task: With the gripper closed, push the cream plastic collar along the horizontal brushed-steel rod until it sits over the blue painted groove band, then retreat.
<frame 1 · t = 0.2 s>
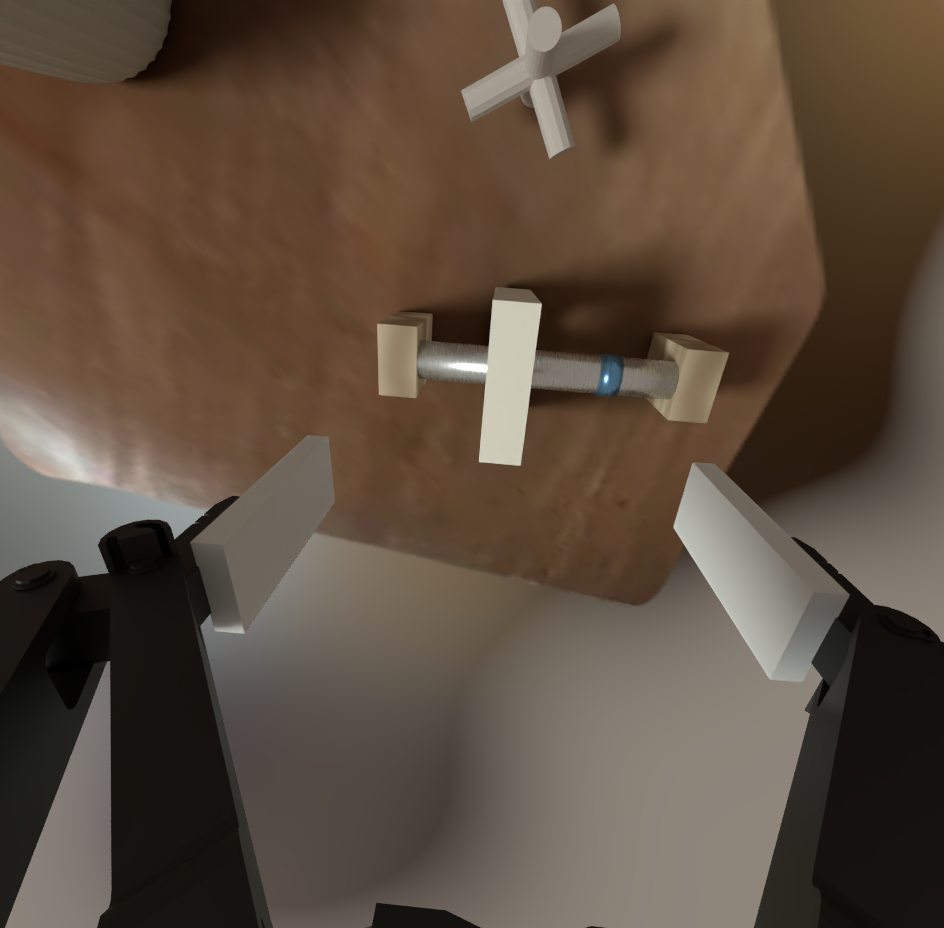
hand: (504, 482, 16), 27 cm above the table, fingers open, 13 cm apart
rod support stand: (538, 353, 40), on the table
pipe connector: (532, 93, 32), on the table
collar: (506, 368, 34), point 7 cm above the table, slide at 0.0 cm
steel rod: (544, 370, 35), point 6 cm above the table
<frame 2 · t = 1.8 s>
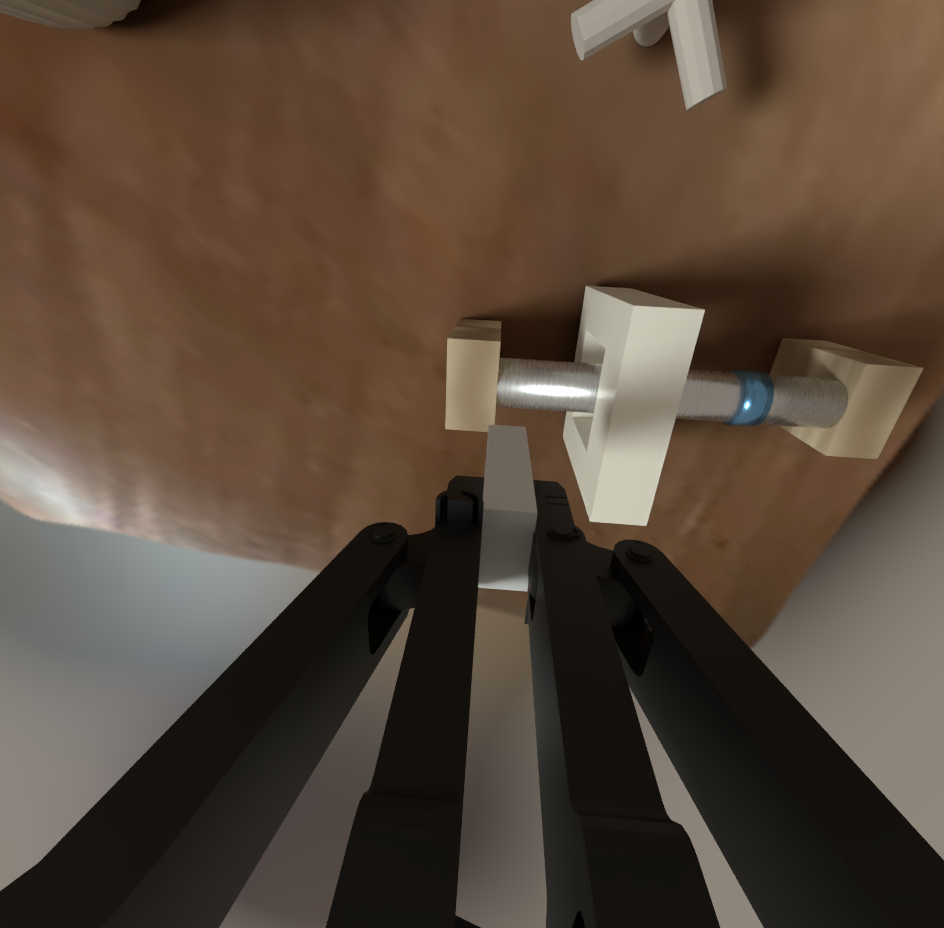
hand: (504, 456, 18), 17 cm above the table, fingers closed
rod support stand: (632, 367, 32), on the table
pipe connector: (648, 26, 24), on the table
collar: (612, 392, 26), point 7 cm above the table, slide at 0.0 cm
steel rod: (660, 392, 27), point 6 cm above the table
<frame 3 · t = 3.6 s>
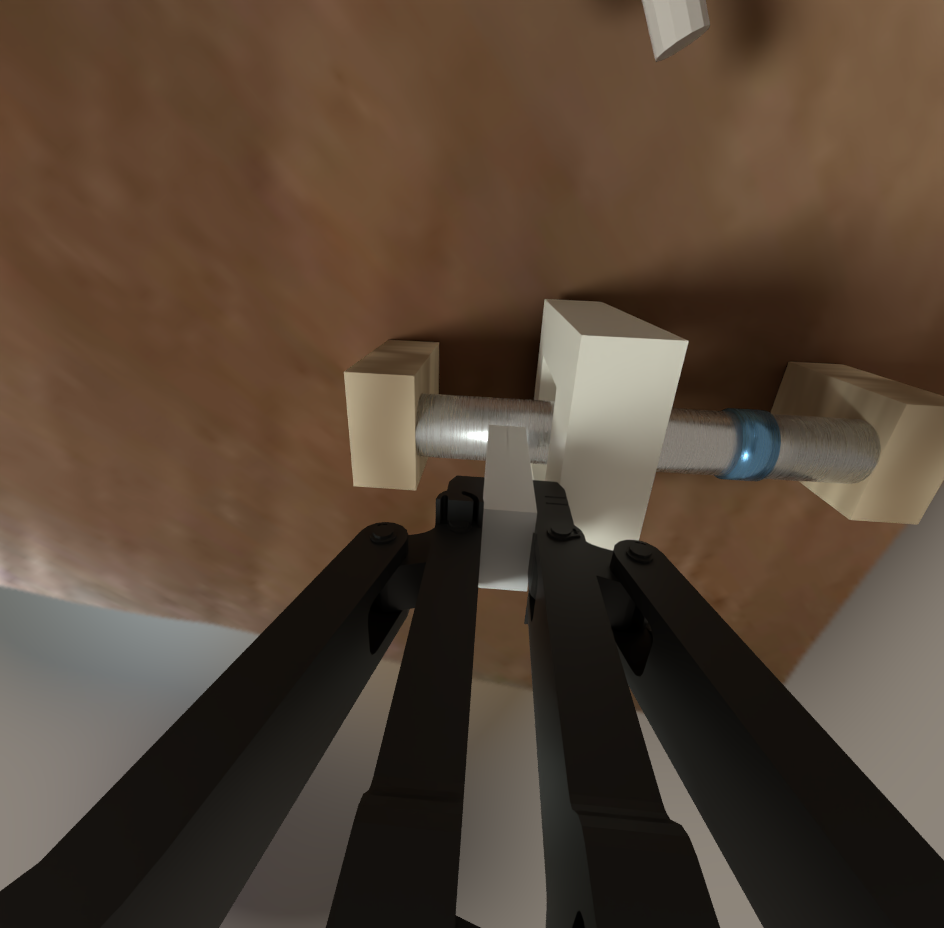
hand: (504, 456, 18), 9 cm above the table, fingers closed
rod support stand: (603, 397, 26), on the table
collar: (575, 438, 20), point 7 cm above the table, slide at 0.3 cm, touching gripper
steel rod: (631, 438, 20), point 6 cm above the table
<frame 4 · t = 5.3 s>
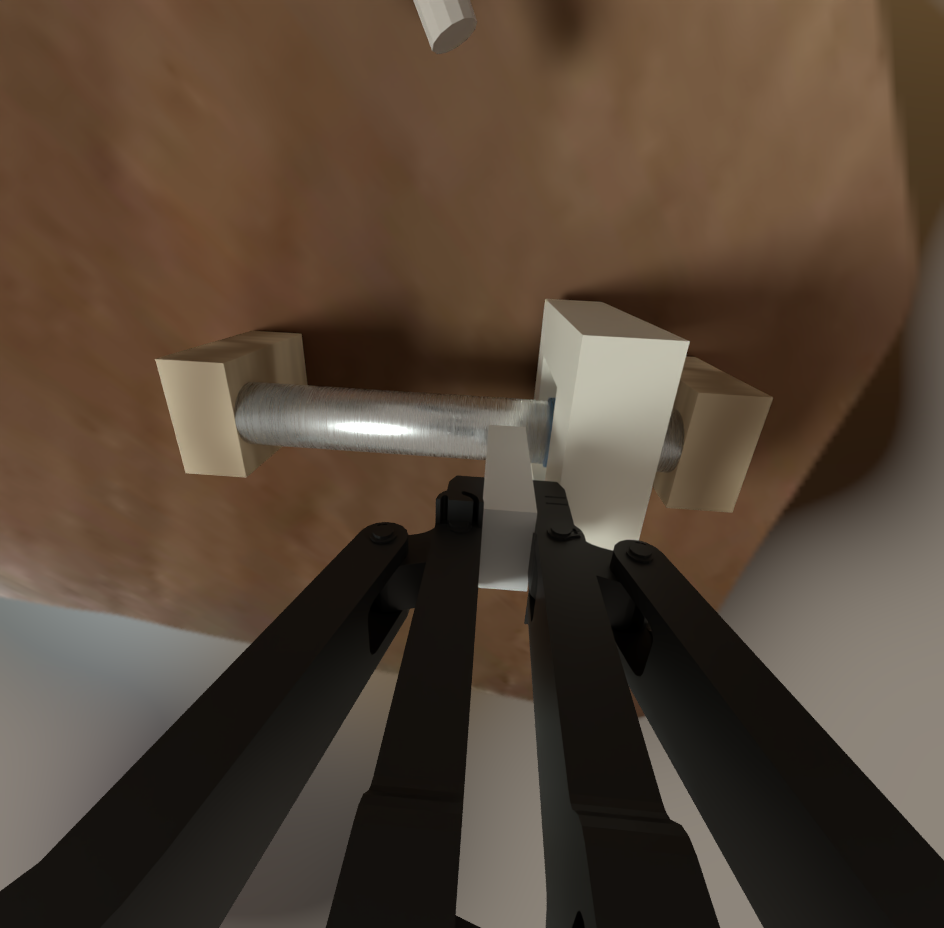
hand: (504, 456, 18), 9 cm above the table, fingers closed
rod support stand: (467, 389, 27), on the table
collar: (575, 438, 20), point 7 cm above the table, slide at 8.5 cm, touching gripper
steel rod: (457, 426, 21), point 6 cm above the table
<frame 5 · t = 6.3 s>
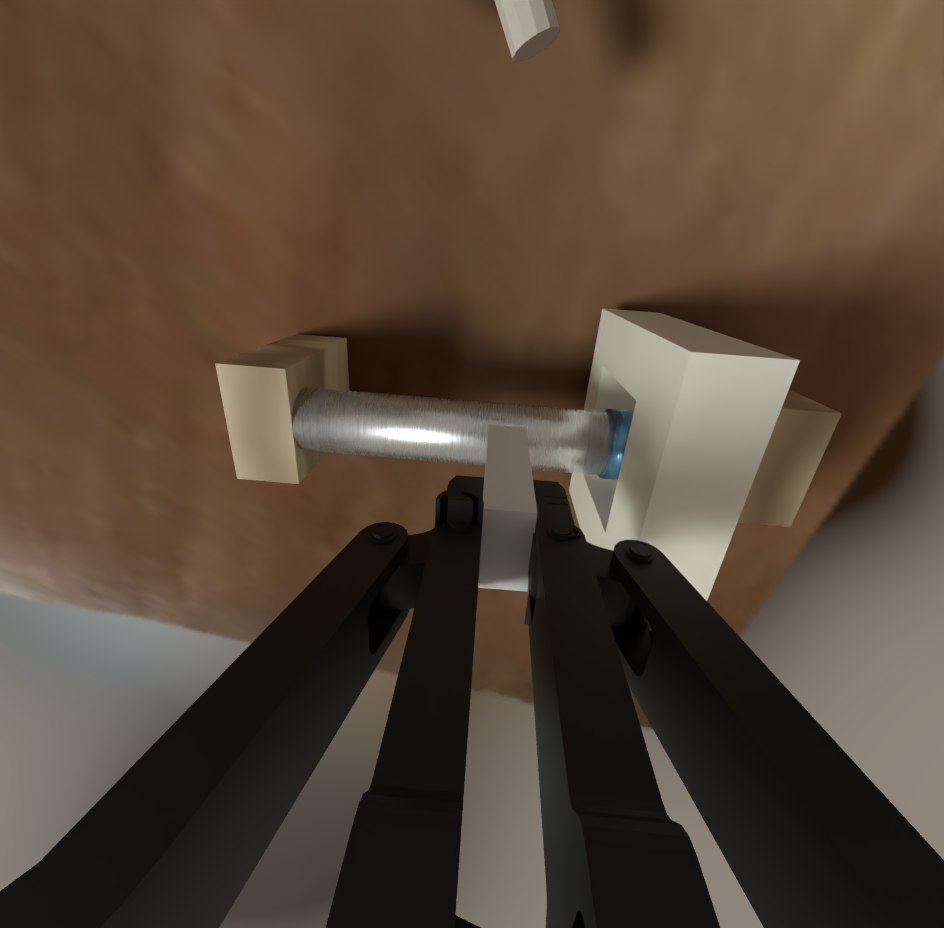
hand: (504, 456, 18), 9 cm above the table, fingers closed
rod support stand: (511, 396, 26), on the table
collar: (639, 450, 20), point 7 cm above the table, slide at 8.7 cm
steel rod: (514, 436, 21), point 6 cm above the table
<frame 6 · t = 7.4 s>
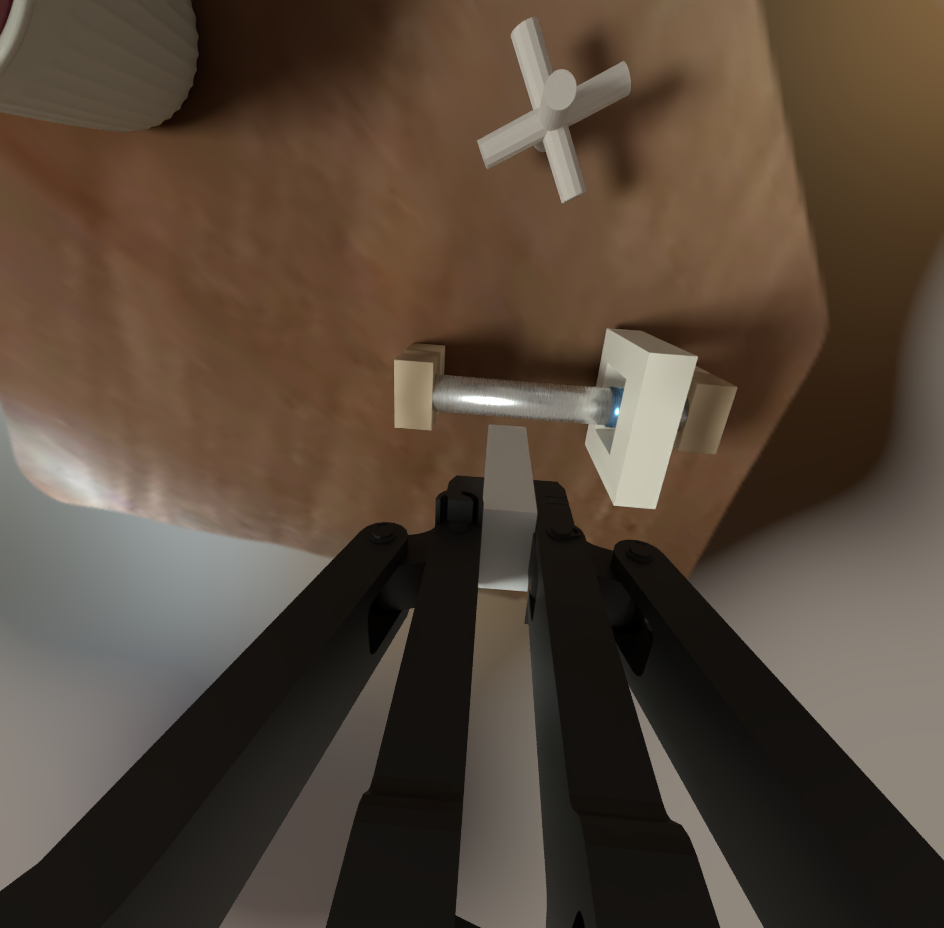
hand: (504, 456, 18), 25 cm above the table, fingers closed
rod support stand: (548, 383, 41), on the table
pipe connector: (543, 138, 34), on the table
collar: (628, 410, 35), point 7 cm above the table, slide at 8.7 cm
canister: (125, 29, 33), on the table
steel rod: (556, 402, 35), point 6 cm above the table
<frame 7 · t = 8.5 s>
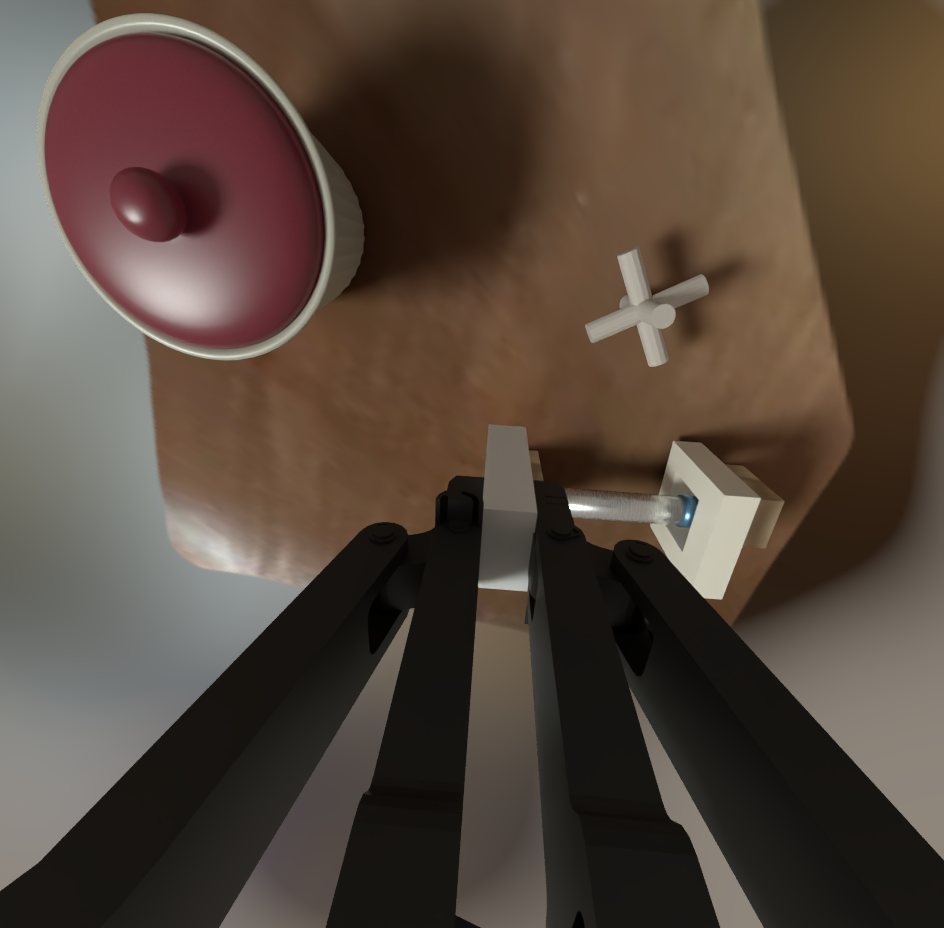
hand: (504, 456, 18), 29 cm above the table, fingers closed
rod support stand: (621, 478, 50), on the table
pipe connector: (628, 303, 43), on the table
collar: (695, 514, 44), point 7 cm above the table, slide at 8.7 cm
canister: (301, 228, 42), on the table
steel rod: (637, 507, 45), point 6 cm above the table
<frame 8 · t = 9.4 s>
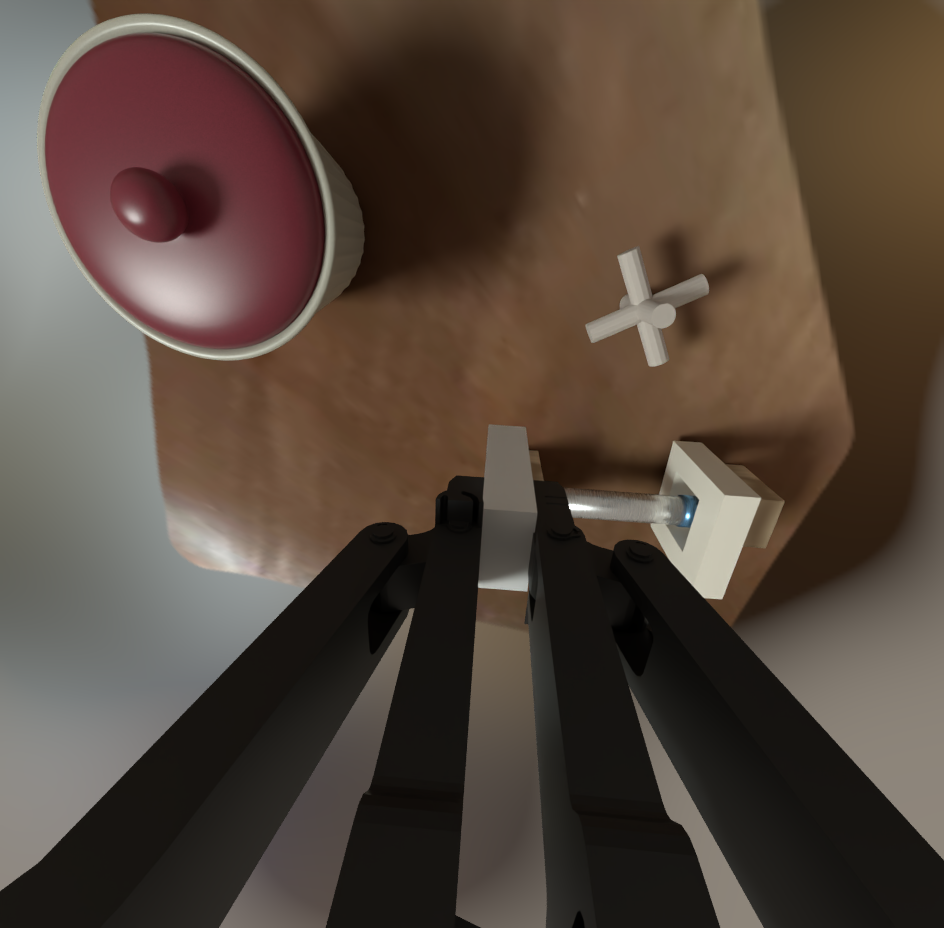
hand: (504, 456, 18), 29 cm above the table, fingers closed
rod support stand: (621, 478, 50), on the table
pipe connector: (628, 303, 43), on the table
collar: (696, 514, 44), point 7 cm above the table, slide at 8.7 cm
canister: (301, 228, 42), on the table
steel rod: (637, 507, 45), point 6 cm above the table
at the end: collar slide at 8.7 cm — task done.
